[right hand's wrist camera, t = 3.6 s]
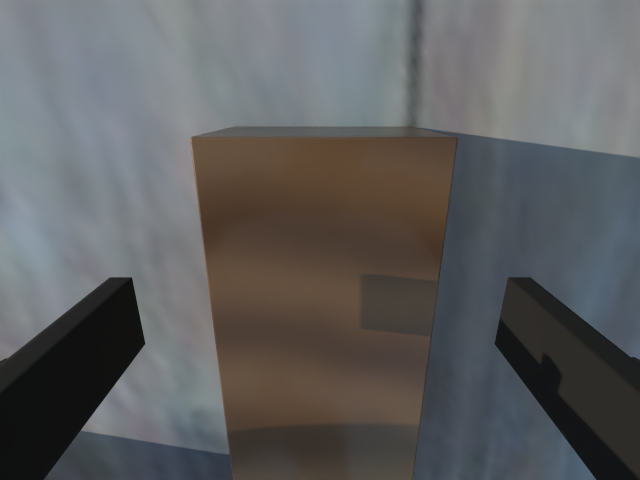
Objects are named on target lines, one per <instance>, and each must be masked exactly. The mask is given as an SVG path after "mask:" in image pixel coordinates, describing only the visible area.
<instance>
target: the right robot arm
mask: <svg viewBox="0 0 640 480" xmlns="http://www.w3.org/2000/svg"><path fill="white" fill-rule="evenodd" d="M144 345H145V340H144V335H143V330H142V325H141V320H140V315H139V311H138V306H137V301H136V296H135V291H134V286H133V281H132V278H109V279H107V280H106V281H105V282H104V283H102V284H101V285H100V286H99V287H97V288H96V289H95V290H94V291H92V292H91V293H90V294H89V295H87V296H86V297H85V298H83V299H82V300H81V301H80V302H78V303H77V304H76V305H75V306H73V307H72V308H71V309H70V310H68V311H67V312H66V313H65V314H63V315H62V316H61V317H60V318H58V319H57V320H56V321H55V322H53V323H52V324H51V325H50V326H48V327H47V328H46V329H44V330H43V331H42V332H41V333H39V334H38V335H37V336H36V337H34V338H33V339H32V340H31V341H29V342H28V343H27V344H26V345H24V346H23V347H22V348H21V349H19V350H18V351H17V352H16V353H14V354H13V355H12V356H11V357H9V358H8V359H4V360H2V361H0V480H44V478H45V477H46V476H47V474H48V473H49V472H50V470H51V469H52V468H53V466H54V465H55V464H56V462H57V461H58V460H59V458H60V457H61V456H62V454H63V453H64V452H65V450H66V449H67V448H68V446H69V445H70V444H71V442H72V441H73V440H74V438H75V437H76V436H77V434H78V433H79V432H80V430H81V429H82V428H83V426H84V425H85V424H86V422H87V421H88V420H89V418H90V417H91V416H92V414H93V413H94V412H95V410H96V409H97V408H98V406H99V405H100V404H101V402H102V401H103V400H104V398H105V397H106V395H107V394H108V393H109V391H110V390H111V389H112V387H113V386H114V385H115V383H116V382H117V381H118V379H119V378H120V377H121V375H122V374H123V373H124V371H125V370H126V369H127V367H128V366H129V365H130V363H131V362H132V361H133V359H134V358H135V357H136V355H137V354H138V353H139V351H140V350H141V349H142V347H143V346H144ZM495 345H496V346H497V347H498V349H499V350H500V351H501V353H502V354H503V355H504V357H505V358H506V359H507V361H508V362H509V363H510V365H511V366H512V367H513V369H514V370H515V371H516V373H517V374H518V375H519V377H520V378H521V379H522V381H523V382H524V383H525V385H526V386H527V387H528V389H529V390H530V391H531V393H532V394H533V396H534V397H535V398H536V400H537V401H538V402H539V404H540V405H541V406H542V408H543V409H544V410H545V412H546V413H547V414H548V416H549V417H550V418H551V420H552V421H553V422H554V424H555V425H556V426H557V428H558V429H559V430H560V432H561V433H562V434H563V436H564V437H565V438H566V440H567V441H568V442H569V444H570V445H571V446H572V448H573V449H574V450H575V452H576V453H577V454H578V456H579V457H580V458H581V460H582V461H583V462H584V464H585V465H586V466H587V468H588V469H589V470H590V472H591V473H592V474H593V476H594V477H595V478H596V480H640V360H639V359H637V358H635V357H629V356H628V355H627V354H626V353H624V352H623V351H622V350H621V349H619V348H618V347H617V346H616V345H614V344H613V343H612V342H611V341H609V340H608V339H607V338H606V337H604V336H603V335H602V334H601V333H599V332H598V331H597V330H595V329H594V328H593V327H592V326H590V325H589V324H588V323H587V322H585V321H584V320H583V319H582V318H580V317H579V316H578V315H577V314H575V313H574V312H573V311H572V310H570V309H569V308H568V307H567V306H565V305H564V304H563V303H562V302H560V301H559V300H558V299H557V298H555V297H554V296H553V295H551V294H550V293H549V292H548V291H546V290H545V289H544V288H543V287H541V286H540V285H539V284H538V283H536V282H535V281H534V280H533V279H531V278H508V281H507V286H506V291H505V296H504V301H503V306H502V311H501V315H500V320H499V325H498V330H497V335H496V340H495Z"/></svg>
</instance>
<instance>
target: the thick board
mask: <svg viewBox="0 0 640 480" xmlns="http://www.w3.org/2000/svg"><path fill="white" fill-rule="evenodd" d="M457 140H458V139H457V137H454V136H450V135H446V134H441V133H437V132H433V131H428V130H424V129H420V128H416V127H231V128H227V129H222V130H218V131H214V132H210V133H206V134H202V135H197V136H193V137H191V138H190V142H191V150H192V158H193V166H194V174H195V182H196V190H197V198H198V206H199V214H200V222H201V230H202V238H203V246H204V254H205V262H206V270H207V278H208V286H209V294H210V302H211V310H212V318H213V326H214V334H215V342H216V350H217V358H218V366H219V373H220V381H221V389H222V397H223V405H224V413H225V421H226V429H227V437H228V445H229V453H230V461H231V469H232V477H233V480H412V479H413V472H414V464H415V457H416V449H417V442H418V434H419V427H420V419H421V412H422V404H423V397H424V389H425V381H426V374H427V366H428V359H429V351H430V344H431V336H432V329H433V321H434V314H435V306H436V299H437V291H438V283H439V276H440V268H441V261H442V253H443V246H444V238H445V231H446V223H447V216H448V208H449V201H450V193H451V186H452V178H453V170H454V163H455V155H456V148H457Z"/></svg>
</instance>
